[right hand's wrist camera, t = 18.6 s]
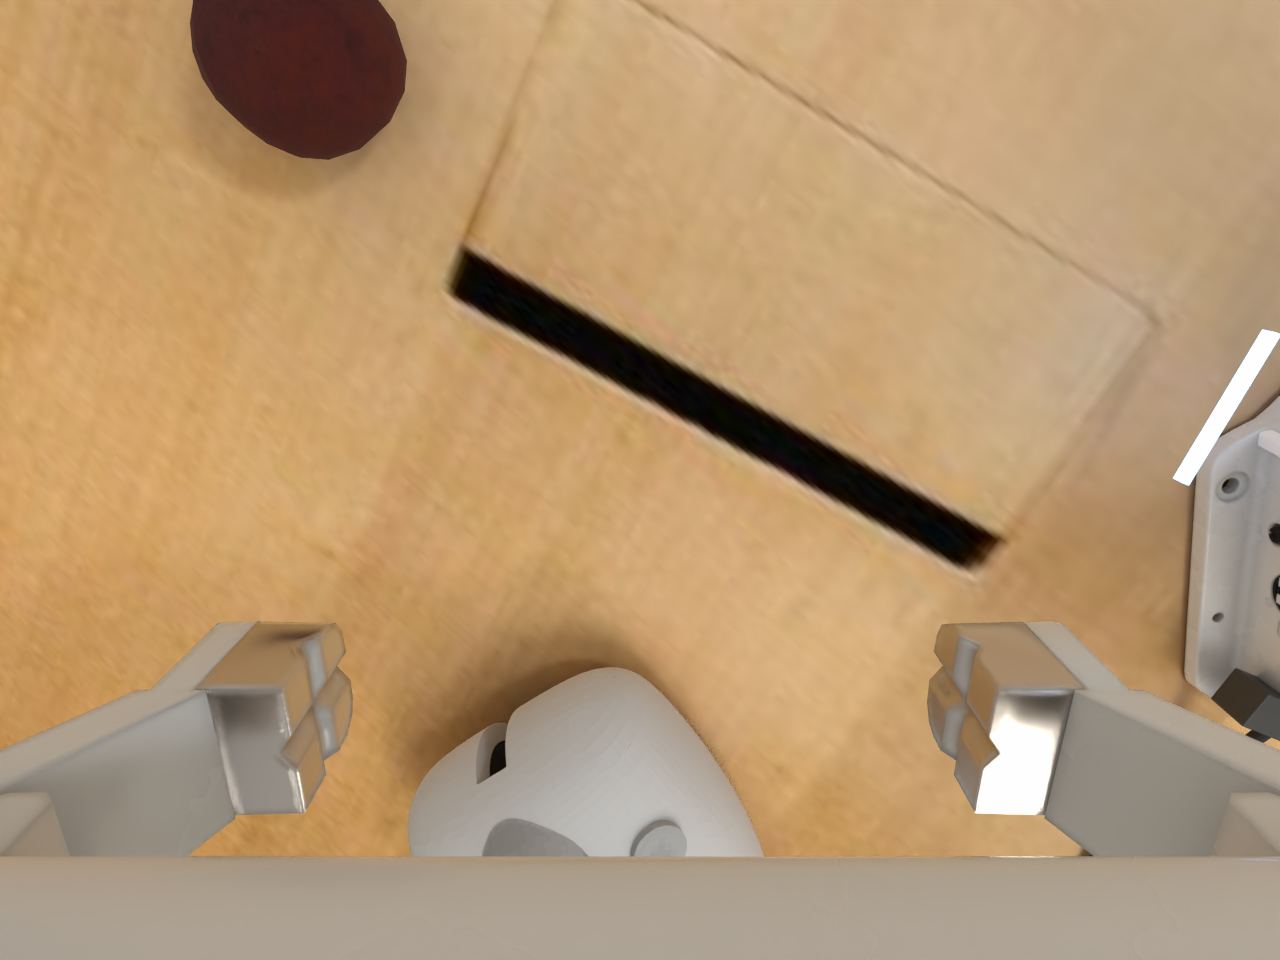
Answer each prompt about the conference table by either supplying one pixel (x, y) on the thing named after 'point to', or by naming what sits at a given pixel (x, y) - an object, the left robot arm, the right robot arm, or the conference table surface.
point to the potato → (302, 69)
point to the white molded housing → (583, 781)
